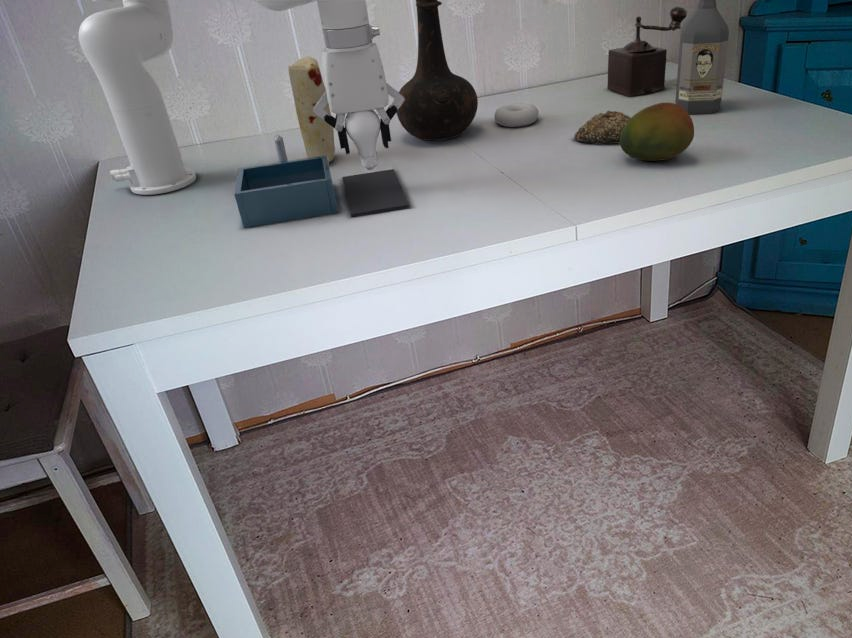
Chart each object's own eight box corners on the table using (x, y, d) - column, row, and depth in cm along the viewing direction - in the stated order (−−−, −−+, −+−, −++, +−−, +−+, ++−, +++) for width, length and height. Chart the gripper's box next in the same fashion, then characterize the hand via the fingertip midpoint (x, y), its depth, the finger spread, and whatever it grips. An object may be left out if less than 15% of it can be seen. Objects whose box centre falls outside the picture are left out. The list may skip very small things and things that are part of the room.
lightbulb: (394, 167, 125) (384, 104, 118) (367, 178, 121) (356, 113, 115) (372, 162, 128) (362, 100, 122) (346, 171, 125) (334, 108, 119)
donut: (525, 131, 152) (546, 117, 159) (524, 115, 150) (546, 102, 157) (486, 127, 157) (509, 114, 164) (485, 111, 155) (508, 99, 162)
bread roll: (632, 146, 138) (633, 120, 135) (570, 144, 141) (570, 119, 139) (641, 127, 147) (643, 103, 145) (584, 126, 151) (584, 102, 148)
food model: (341, 164, 142) (321, 60, 131) (308, 170, 141) (285, 65, 130) (337, 151, 150) (318, 51, 139) (306, 156, 149) (284, 56, 138)
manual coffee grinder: (631, 98, 167) (634, 15, 157) (606, 89, 176) (608, 10, 166) (684, 87, 172) (691, 6, 162) (657, 79, 181) (662, 2, 171)
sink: (243, 228, 118) (226, 166, 112) (247, 196, 131) (231, 139, 125) (338, 212, 120) (326, 151, 114) (332, 182, 133) (321, 126, 127)
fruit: (700, 163, 127) (706, 106, 121) (637, 175, 124) (640, 117, 119) (668, 146, 136) (672, 92, 130) (609, 156, 134) (611, 102, 128)
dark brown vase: (404, 152, 146) (384, 3, 130) (395, 129, 160) (376, -7, 145) (487, 140, 148) (477, -7, 132) (471, 119, 163) (460, -16, 147)
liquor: (674, 104, 160) (685, -47, 143) (715, 102, 159) (732, -50, 142) (677, 115, 153) (690, -42, 136) (721, 113, 151) (739, -46, 134)
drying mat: (351, 217, 118) (350, 213, 118) (342, 179, 134) (342, 176, 134) (409, 207, 120) (409, 204, 119) (394, 171, 136) (393, 168, 136)
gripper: (397, 28, 117) (411, 136, 127) (293, 41, 114) (316, 150, 124) (403, 34, 111) (418, 147, 121) (294, 48, 108) (318, 162, 118)
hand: (366, 147), depth 122 cm, fingers closed on lightbulb, 6 cm apart
